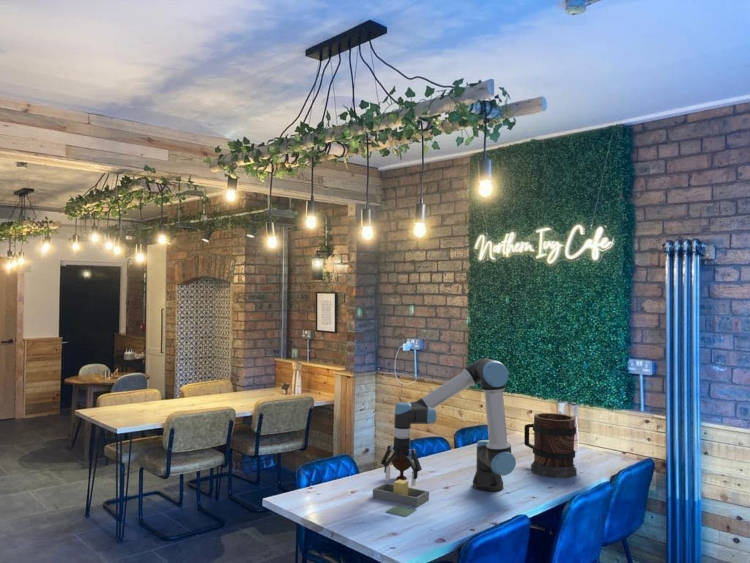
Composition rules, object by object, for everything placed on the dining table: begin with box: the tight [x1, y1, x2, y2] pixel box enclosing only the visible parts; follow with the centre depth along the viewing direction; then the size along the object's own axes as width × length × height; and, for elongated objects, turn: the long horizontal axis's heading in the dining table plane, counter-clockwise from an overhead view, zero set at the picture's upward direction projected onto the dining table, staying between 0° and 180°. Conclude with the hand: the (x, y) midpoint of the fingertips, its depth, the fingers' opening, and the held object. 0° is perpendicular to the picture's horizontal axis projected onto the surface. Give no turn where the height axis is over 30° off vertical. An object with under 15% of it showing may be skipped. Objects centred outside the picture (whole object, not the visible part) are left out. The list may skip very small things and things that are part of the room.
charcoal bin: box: [372, 482, 430, 509], centre depth 285 cm, size 23×12×4 cm, turn 59°
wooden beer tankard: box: [523, 412, 578, 479], centre depth 341 cm, size 24×30×30 cm
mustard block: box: [393, 479, 409, 496], centre depth 285 cm, size 5×5×8 cm
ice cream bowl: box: [391, 456, 411, 481], centre depth 319 cm, size 11×11×15 cm
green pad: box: [385, 504, 418, 518], centre depth 269 cm, size 10×10×1 cm
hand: (400, 483), depth 286 cm, fingers open, 13 cm apart
